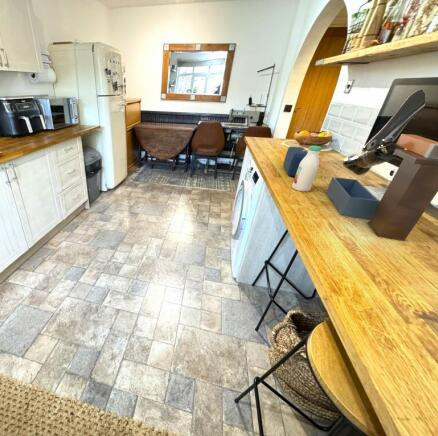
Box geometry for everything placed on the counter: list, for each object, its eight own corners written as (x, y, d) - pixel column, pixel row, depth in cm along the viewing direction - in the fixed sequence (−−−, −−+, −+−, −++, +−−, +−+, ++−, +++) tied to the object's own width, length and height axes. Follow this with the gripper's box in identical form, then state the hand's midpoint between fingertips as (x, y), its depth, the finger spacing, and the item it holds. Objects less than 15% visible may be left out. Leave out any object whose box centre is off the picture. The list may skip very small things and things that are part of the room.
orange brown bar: (395, 144, 83) (401, 133, 81) (409, 145, 82) (415, 134, 80) (426, 158, 68) (434, 144, 66) (443, 159, 67) (452, 146, 65)
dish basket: (349, 195, 108) (356, 179, 104) (370, 219, 89) (380, 201, 86) (325, 192, 111) (332, 176, 107) (341, 215, 92) (349, 197, 88)
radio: (305, 179, 126) (320, 140, 116) (287, 177, 128) (299, 138, 118) (297, 167, 143) (309, 132, 133) (281, 165, 145) (292, 131, 135)
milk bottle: (313, 189, 114) (329, 147, 104) (304, 193, 110) (321, 149, 100) (296, 184, 119) (310, 143, 109) (288, 187, 115) (302, 145, 105)
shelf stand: (391, 223, 87) (435, 152, 74) (410, 242, 77) (465, 163, 64) (359, 218, 90) (395, 148, 77) (372, 235, 80) (417, 159, 67)
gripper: (359, 143, 97) (385, 127, 81) (403, 146, 92) (440, 130, 77) (355, 161, 97) (380, 149, 81) (399, 165, 93) (434, 153, 77)
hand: (409, 140), depth 79 cm, fingers open, 8 cm apart
